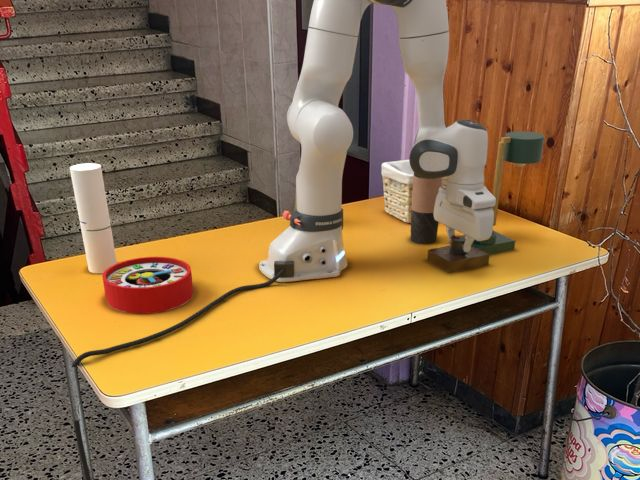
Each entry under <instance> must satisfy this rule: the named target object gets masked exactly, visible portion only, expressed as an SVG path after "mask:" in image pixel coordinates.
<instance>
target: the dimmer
mask: <svg viewBox="0 0 640 480" xmlns="http://www.w3.org/2000/svg"><path fill="white" fill-rule="evenodd" d="M490 256H491V255H490V254H488V253H486V252H484V251H482V250H480V249H478V248H476V247H474V246H472V245H471V250H470V251H469V252H467V253H466V254H463V255H457V254H452V253H451V252H450V245H446V246H440V247H435V248H430V249H427V255H426V262H429V263H430V264H432V265H434V266H436V267H438V268H439V269H440V270H442V271H444V272H446V273H448V274H453V273H457V272H461V271H467V270H472V269H477V268H481V267H487V266H489V264H490Z"/></svg>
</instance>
